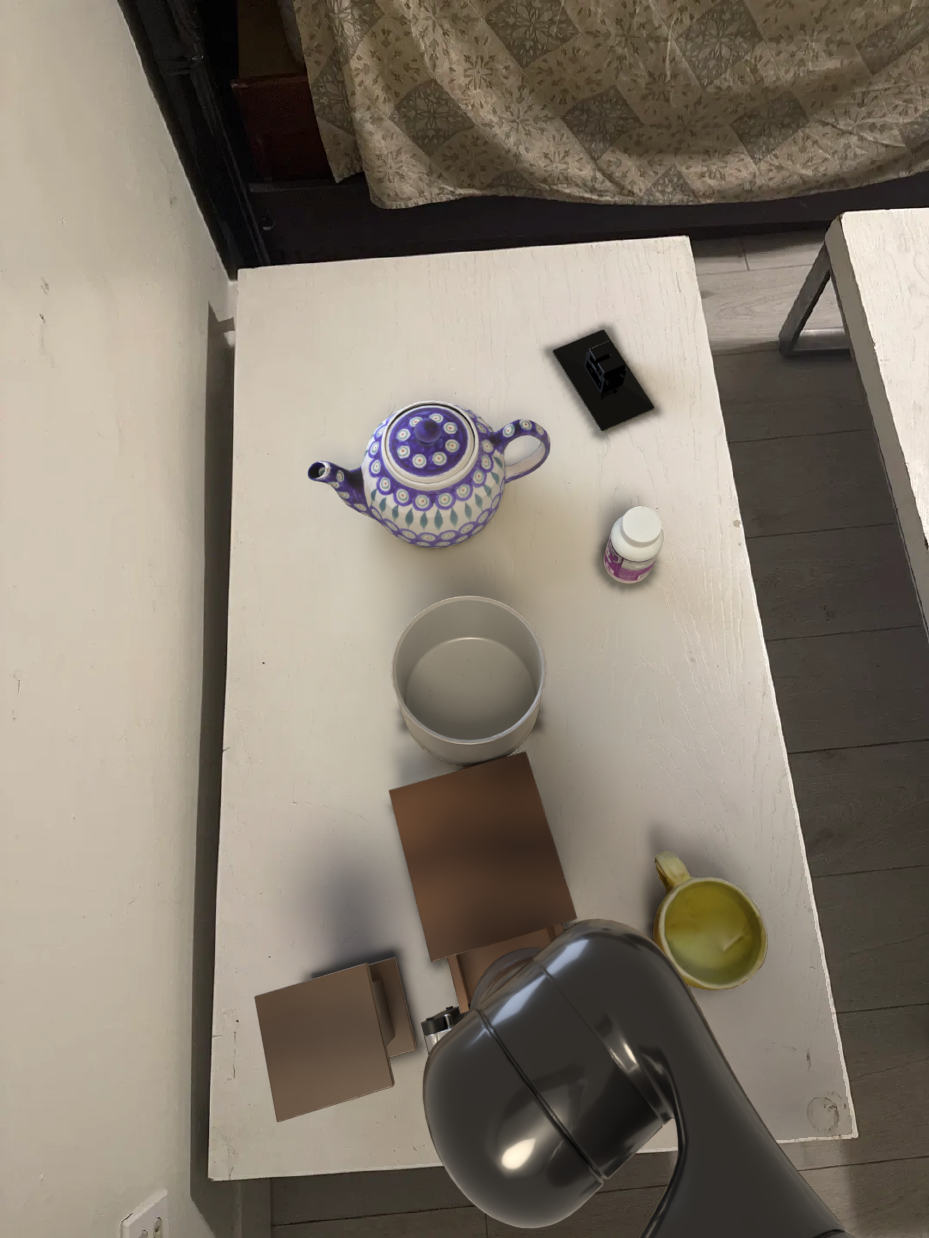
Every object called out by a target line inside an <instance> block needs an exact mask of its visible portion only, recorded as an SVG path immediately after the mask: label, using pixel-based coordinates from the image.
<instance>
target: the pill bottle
mask: <svg viewBox="0 0 929 1238" xmlns="http://www.w3.org/2000/svg"><path fill="white" fill-rule="evenodd" d="M664 538H665V535H664V531H663V520H662V517H661V516H660V514H659V513H658V512H657V511H655V509H653V508H651V507H648V506H645V505H644V506H643V505H638V506H634V507H632V508H629V509H628V510H627V511H626V512H625V513H624V514H623V515H621V516H620V517H619V518H618V519H617V520H616V521H615V522H614V524H613V525H612V528H611V531H610V534H609V537H608V541H607V544H606V548H605V550H604V555H603V566H604V569H605V571H606V573H607V574H608V575H609V576H610V577H611V578H612V579H613V580H615V581H616V582H619V583H622V584H635V583H638V582H641V581H643V580H644V579H645V578H646V577H648V575H649V574H650V572H651V571H652V568H653V567H654V564H655V562H656V560H657V559H658V556H659V555H660V551H661V550H662V549H663V548H662V547H663V545H664V540H665V539H664Z"/></svg>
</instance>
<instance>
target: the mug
mask: <svg viewBox="0 0 929 1238" xmlns="http://www.w3.org/2000/svg"><path fill="white" fill-rule="evenodd" d="M654 865H655V869H656V872H657V876H658V878H659V880H660V881H661V883H662V885H663V887H664V890H665V897H664V898H663V899H662V900H661V902H660V904H659V906H658V908H657V910H656V913H655V917H654V921H653V930H652V940H653V941H654V942H655V943H656V944H657V945H658V946H659V947H660V948H661V949H662V950H663V951H664V952H665V953H666V954H667V956H668V957H669V958H670V959H671V961H672V962H673V963H674V965H675V966H676V968H677V969H678V971H679V972H680V974H681V975H682V977H683V979H684V980H685V982H686V984H687V985H688V987H692V988H694V989H699V990H703V991H721V990H722V991H723V990H726V991H727V990H732V989H735V988H737V987H739V986H741V985H744V984H745V983H747V982H748V981H749V980H751V979H752V978H753V977H754V976H755V975H756V974H757V973H758V972H759V970H760V969H761V968H762V967H763V965H764V964H765V961H766V957H767V954H768V949H769V937H768V930H767V929H768V928H767V925H766V921H765V919H764V917H763V914H762V912H761V910H760V908H759V907H758V905H757V904H756V903H755V901H754V900H753V898H752V897H751V896H750V895H749V894H748V893H747V892H746V891H745V890H744V889H743V888H741V887H740V886H739V885H736V884H735V883H733V882H731V881H729V880H726V879H723V878H721V877H714V876H702V877H694V876H691V874H690V873H689V871H688V869H687V867H686V865H685V863H684V862H683V861H682V859H681V858H680V857H679V856H677V854H676V853H674V852H673V851H671V850H670V851H669V850H667V851H662V852H660V853H658V854H656V855H655V856H654Z"/></svg>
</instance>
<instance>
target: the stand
mask: <svg viewBox="0 0 929 1238" xmlns="http://www.w3.org/2000/svg"><path fill="white" fill-rule="evenodd" d="M254 1003H255V1008H256V1015H257V1020H258V1026H259V1032H260V1037H261V1042H262V1049H263V1053H264V1060H265V1065H266V1070H267V1076H268V1082H269V1087H270V1092H271V1098H272V1103H273V1104H272V1105H273V1109H274V1115H275V1120H276V1123H281V1122H284V1121H287V1120H290V1119H295V1118H297V1117H300V1116H304V1115H307V1114H310V1113H313V1112H316V1111H321V1110H322V1109H326V1108H329V1107H332V1106H336V1105H339V1104H342V1103H346V1102H349V1101H352V1100H356V1099H359V1098H361V1097H366V1096H367V1095H368V1096H369V1095H371V1094H374V1093H378V1092H381V1091H384V1090H388V1089H392V1088H393V1087H394V1086H395V1085H396V1082H395V1081H396V1080H395V1077H394V1072H393V1068H392V1063H391V1059H392V1058H394V1057H398V1056H401V1055H404V1054H407V1053H411V1052H414V1051H416V1050H417V1048H418V1044H417V1041H416V1037H415V1033H414V1029H413V1025H412V1020H411V1016H410V1012H409V1007H408V1003H407V999H406V995H405V990H404V986H403V982H402V977H401V974H400V969H399V965H398V961H397V957H396V956H393V957H390V958H385V959H382V960H379V961H376V962H372V963H368V962H364V963H360V964H356V965H353V966H351V967H348V968H344V969H340V970H337V971H334V972H329V973H328V974H324V975H320V976H317V977H314V978H309V979H306V980H304V981H300V982H297V983H294V984H289V985H287V986H284V987H280V988H277V989H274V990H271V991H267V992H264V993H260V994H257V995H254Z"/></svg>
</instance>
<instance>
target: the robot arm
mask: <svg viewBox="0 0 929 1238" xmlns="http://www.w3.org/2000/svg"><path fill="white" fill-rule="evenodd" d="M563 930H564V931H563V932H561V933H560V934H559V935H558V936H557V937H555V938H554V939H553V940H552V941H551V942H549V943H548V944H547V945H546V946H545V947H544V948H538V947H527V948H520V949H516V950H513V951H511V952H508V953H506V954H504V955H503V956H501V957H499V958H498V959H497V960H495V961H494V962H493V963H492V964H491V965H490V966H489V967H488V968H487V969H486V970H485V972H484V973H483V974H482V976H481V978H480V979H479V981H478V983H477V985H476V988H475V990H474V993H473V997H472V1001H471V1002H469V1003H467V1004H468V1008H469V1011H466V1012H464V1013H461V1011H460V1007H459V1005H458V1006H454V1005H450V1006H447V1007H445V1010H441V1011H440V1012H438V1013H436V1014H434V1015H433V1016H430V1017H426V1018H425V1020H424V1021H422V1022H421V1023H420V1026H421V1029H422V1034H423V1038H424V1043H425V1047H426V1051H427V1058H426V1060H425V1065H424V1069H423V1075H422V1103H423V1110H424V1111H423V1112H424V1118H425V1122H426V1126H427V1129H428V1132H429V1136H430V1139H431V1142H432V1145H433V1148H434V1150H435V1152H436V1154H437V1157H438V1159H439V1161H440V1162H441V1164H442V1166H443V1168H444V1169H445V1171H446V1173H447V1174H448V1176H449V1177H450V1179H451V1180H452V1182H453V1183H454V1184H455V1186H456V1187H457V1188H458V1189H459V1190H460V1192H461V1193H462V1195H464V1196H465V1197H466V1198H467V1199H468V1200H469V1201H470V1203H472V1204H473V1205H474V1206H475V1207H477V1209H479V1210H480V1211H482V1212H483V1213H484V1214H486V1215H487V1216H489V1217H490V1218H492V1219H494V1220H496V1221H498V1222H501V1223H503V1224H506V1225H509V1226H512V1227H515V1228H520V1229H538V1228H543V1227H549V1226H552V1225H555V1224H557V1223H559V1222H561V1221H563V1220H565V1219H567V1218H568V1217H570V1216H571V1215H572V1214H574V1213H575V1212H576V1211H578V1210H579V1209H580V1208H581V1207H582V1206H583V1205H585V1203H587V1201H588V1200H590V1199H591V1197H593V1195H595V1194H596V1193H597V1192H598V1191H599V1190H600V1189H601V1188H602V1187H603V1186H604V1185H605V1180H610V1179H611V1178H612V1177H613V1176H614V1175H615V1174H616V1173H617V1172H618V1171H619V1170H620V1169H621V1168H622V1167H623V1166H624V1165H625V1164H627V1162H629V1160H630V1159H632V1157H634V1155H636V1153H638V1152H639V1151H640V1150H641V1149H642V1148H643V1147H644V1146H645V1145H646V1144H647V1143H648V1142H650V1140H651V1139H652V1138H653V1137H654V1136H655V1135H656V1134H658V1133H659V1131H660V1130H662V1128H663V1125H664V1126H665V1125H666V1124H668V1123H669V1122H670V1121H672V1120H673V1119H674V1122H675V1128H676V1136H677V1154H676V1162H675V1164H674V1167H673V1170H672V1173H671V1176H670V1179H669V1181H668V1183H667V1185H666V1187H665V1189H664V1192H663V1193H662V1196H661V1197H660V1199H659V1201H658V1203H657V1204H656V1205H655V1207H654V1209H653V1211H652V1212H651V1214H650V1216H649V1218H648V1220H647V1222H646V1224H645V1225H644V1227H643V1228H642V1230H641V1231H640V1234H639V1235H638V1236H637V1238H856V1237H855V1236H854V1235H852V1233H850V1232H849V1230H848V1229H847V1228H846V1227H845V1226H844V1224H843V1223H842V1222H841V1221H840V1219H839V1218H838V1217H837V1216H836V1215H835V1214H834V1213H833V1212H832V1210H831V1209H830V1208H829V1207H828V1205H827V1204H826V1203H825V1202H824V1201H823V1200H822V1199H821V1198H820V1196H819V1195H818V1193H817V1192H815V1189H813V1187H811V1184H810V1183H808V1181H807V1180H806V1179H805V1178H804V1177H803V1175H802V1174H801V1173H800V1171H799V1170H798V1169H797V1167H795V1165H794V1164H793V1162H792V1161H791V1160H790V1157H789V1156H788V1155H787V1154H786V1152H785V1151H784V1150H783V1148H782V1147H781V1145H780V1144H779V1143H778V1142H777V1140H776V1139H775V1137H774V1135H773V1134H772V1132H771V1130H769V1127H767V1124H766V1123H765V1122H764V1121H763V1120H764V1119H763V1118H762V1117H761V1115H760V1114H759V1113H758V1111H757V1109H756V1107H755V1106H754V1105H753V1103H752V1102H751V1099H750V1097H748V1095H747V1093H746V1091H745V1089H744V1087H743V1086H742V1084H741V1082H740V1081H739V1079H738V1077H737V1076H736V1074H735V1072H734V1070H733V1068H732V1066H731V1065H730V1063H729V1060H728V1059H727V1057H726V1055H725V1053H724V1051H723V1049H722V1047H721V1045H720V1043H719V1042H718V1039H717V1037H716V1036H715V1034H714V1031H713V1029H712V1028H711V1026H710V1024H709V1022H708V1020H707V1019H706V1016H705V1015H704V1012H703V1011H702V1009H701V1006H700V1005H699V1003H698V1001H697V1000H696V998H695V996H694V994H693V993H692V990H691V988H690V986H688V985H687V984H686V982H685V980H684V979H683V977H682V975H681V974H680V972H679V971H678V969H677V968H676V966H675V965H674V963H673V962H672V961H671V959H670V958H669V957H668V956H667V954H666V953H665V952H664V951H663V950H662V949H661V948H660V947H659V946H658V945H657V944H656V943H655V942H654V941H653V939H652V938H651V937H649V936H648V935H646V934H645V933H644V932H642V931H640V930H639V929H637V928H635V927H633V926H631V925H628V924H626V923H623V922H619V921H616V920H612V919H604V918H587V919H583V920H580V921H577V922H575V923H573V924H571V925H570V926H569V927H567V928H565V929H563Z"/></svg>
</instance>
